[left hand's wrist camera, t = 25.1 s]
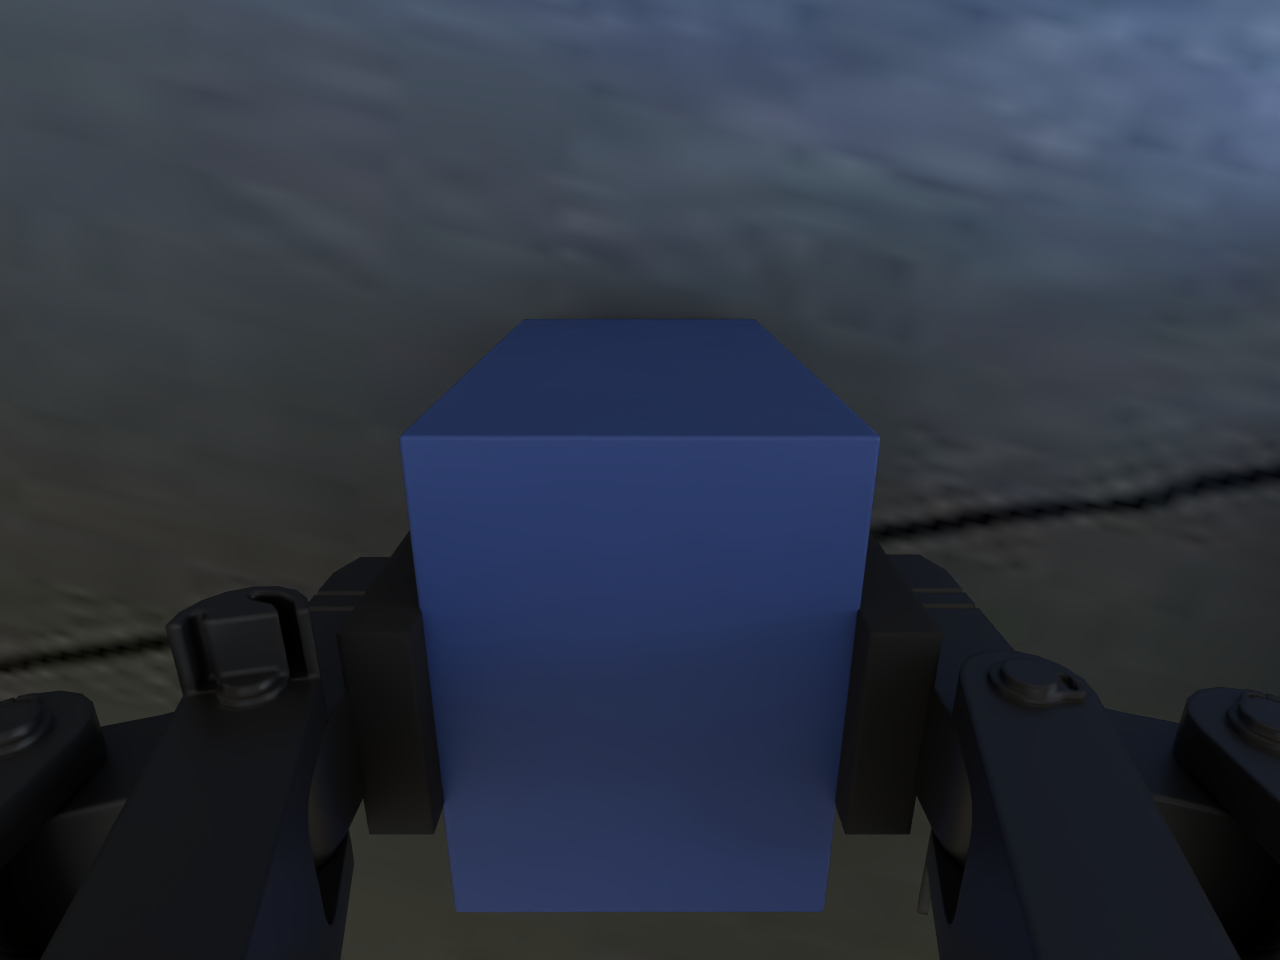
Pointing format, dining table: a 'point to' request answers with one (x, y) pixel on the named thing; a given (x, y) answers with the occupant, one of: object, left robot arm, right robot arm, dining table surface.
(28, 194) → the dining table surface
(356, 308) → the dining table surface
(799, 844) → the block
